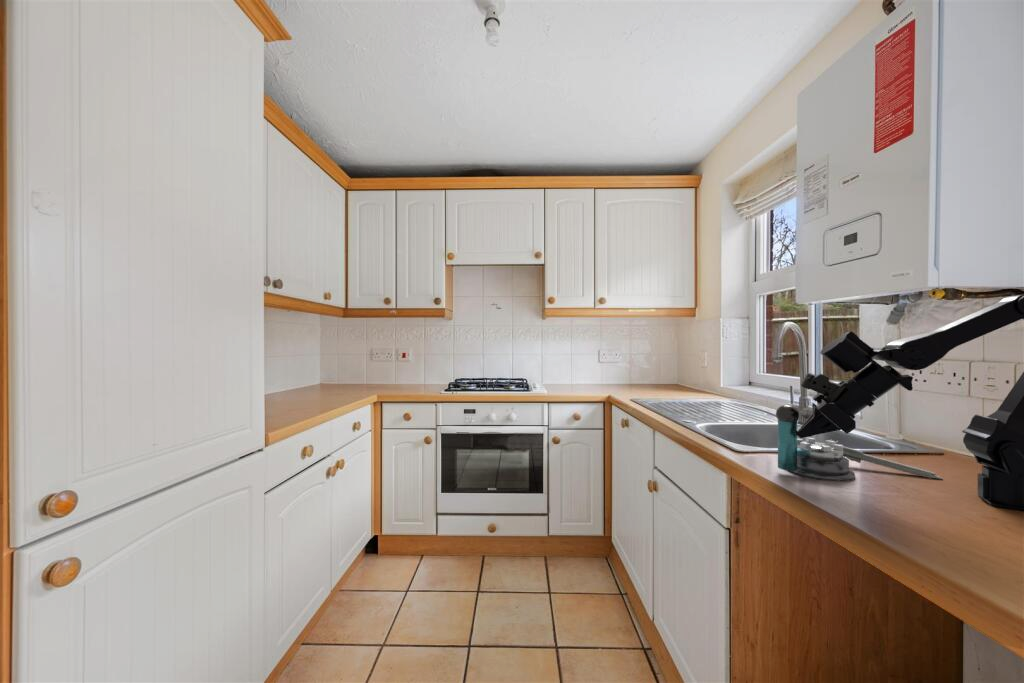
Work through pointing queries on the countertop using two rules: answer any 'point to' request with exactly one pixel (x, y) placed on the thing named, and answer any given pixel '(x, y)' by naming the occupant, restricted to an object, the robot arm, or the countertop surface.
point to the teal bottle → (800, 442)
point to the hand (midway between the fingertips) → (798, 435)
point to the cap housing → (824, 469)
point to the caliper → (885, 462)
